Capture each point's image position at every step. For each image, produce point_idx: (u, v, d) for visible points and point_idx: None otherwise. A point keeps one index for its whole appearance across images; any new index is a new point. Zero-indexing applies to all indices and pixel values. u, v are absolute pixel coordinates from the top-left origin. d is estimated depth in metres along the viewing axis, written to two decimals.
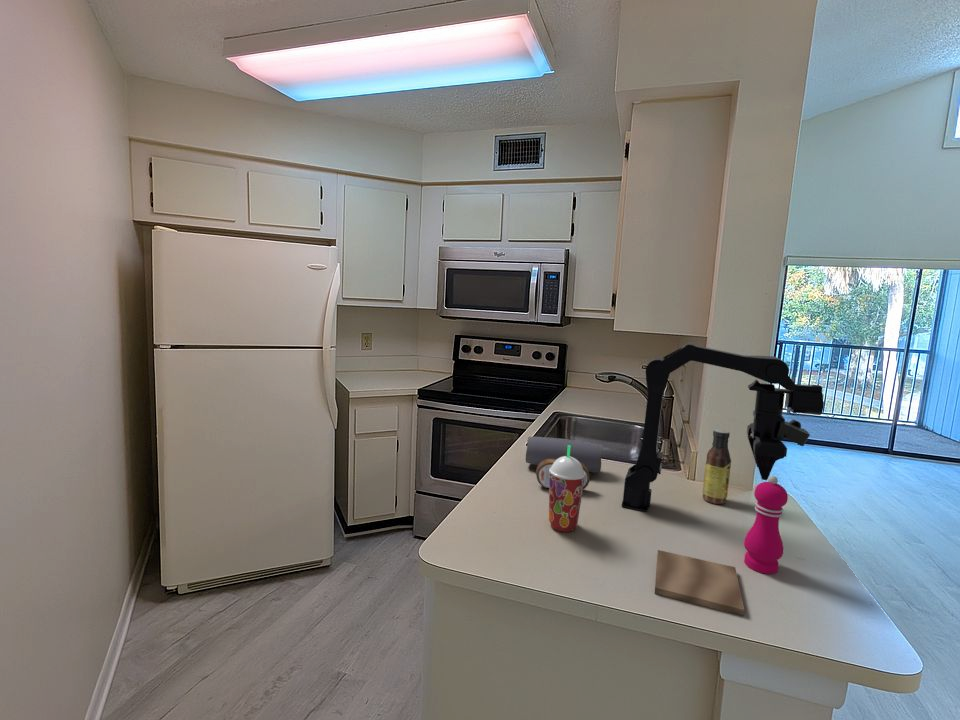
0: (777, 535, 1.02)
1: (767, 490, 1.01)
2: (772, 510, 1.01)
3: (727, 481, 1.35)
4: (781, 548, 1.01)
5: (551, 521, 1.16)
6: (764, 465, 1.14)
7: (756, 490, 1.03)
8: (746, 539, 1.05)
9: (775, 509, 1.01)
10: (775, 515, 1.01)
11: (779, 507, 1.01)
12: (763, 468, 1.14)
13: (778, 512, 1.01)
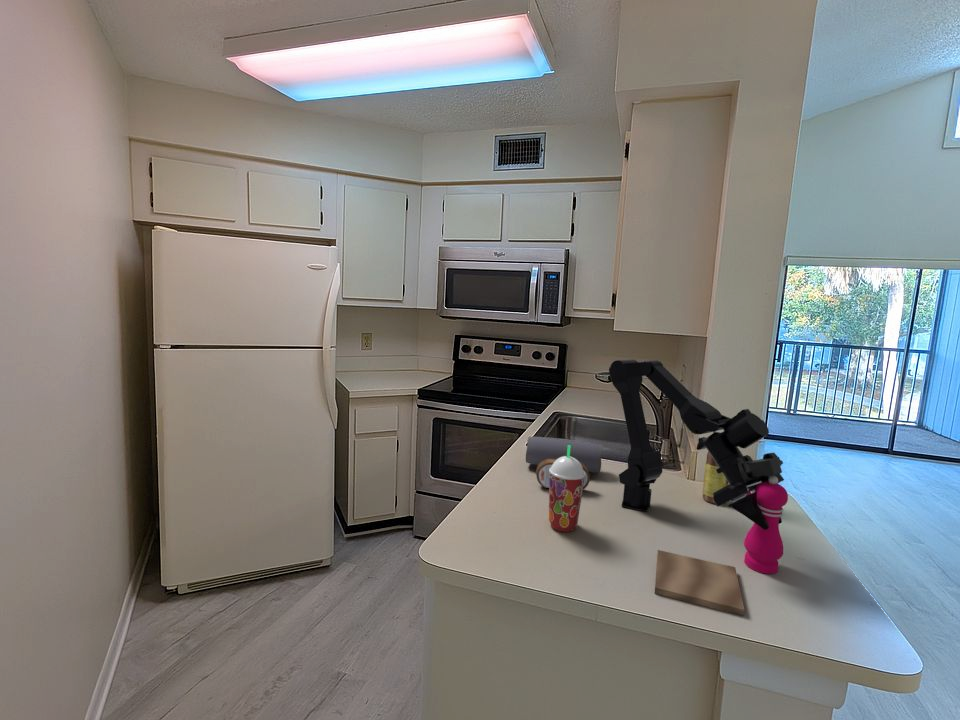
0: (777, 535, 1.02)
1: (767, 489, 1.01)
2: (772, 510, 1.01)
3: (727, 481, 1.35)
4: (781, 548, 1.01)
5: (551, 521, 1.16)
6: (751, 513, 1.02)
7: (756, 490, 1.03)
8: (746, 539, 1.05)
9: (775, 509, 1.01)
10: (775, 515, 1.01)
11: (779, 507, 1.01)
12: (753, 517, 1.02)
13: (778, 512, 1.01)
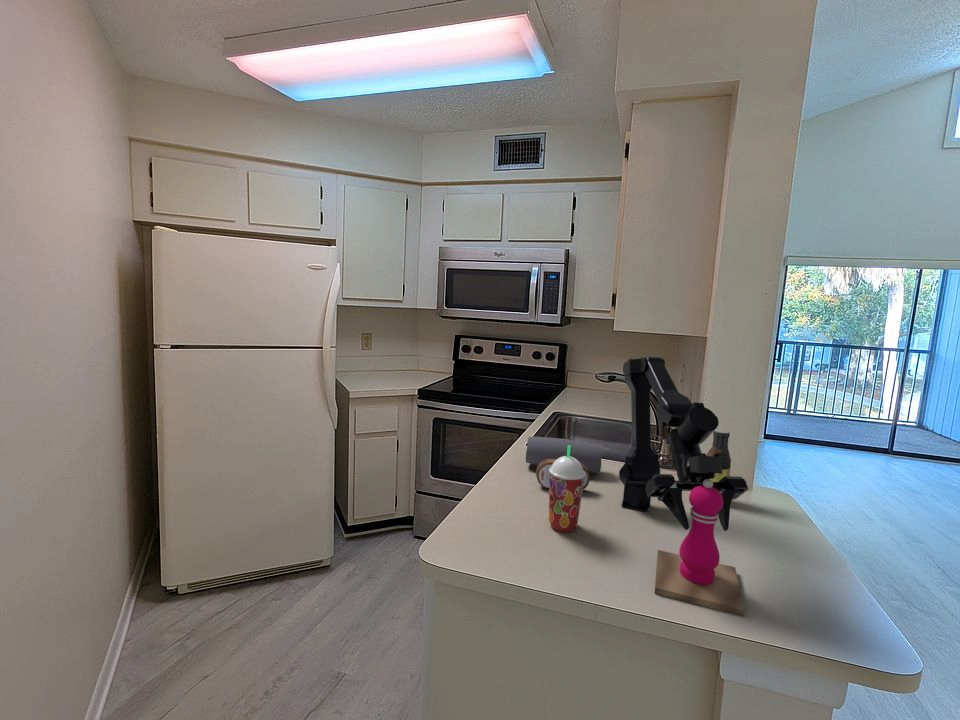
0: (706, 543, 0.94)
1: (695, 491, 0.95)
2: (699, 514, 0.94)
3: None
4: (709, 558, 0.94)
5: (551, 521, 1.16)
6: (675, 510, 0.97)
7: (690, 492, 0.97)
8: None
9: (703, 514, 0.94)
10: (702, 520, 0.94)
11: (707, 513, 0.93)
12: (676, 514, 0.97)
13: (706, 518, 0.94)
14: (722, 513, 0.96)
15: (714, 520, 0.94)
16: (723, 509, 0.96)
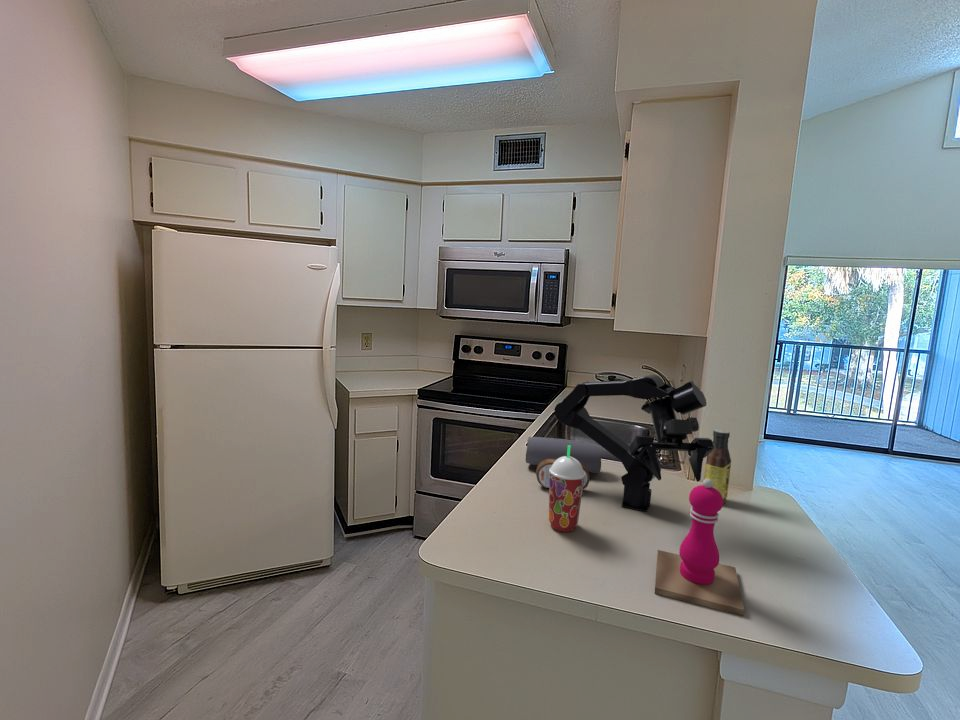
0: (706, 543, 0.94)
1: (695, 491, 0.95)
2: (699, 514, 0.94)
3: (727, 481, 1.35)
4: (709, 558, 0.94)
5: (551, 521, 1.16)
6: (651, 465, 1.17)
7: None
8: None
9: (703, 514, 0.94)
10: (702, 520, 0.94)
11: (707, 512, 0.94)
12: (651, 468, 1.16)
13: (706, 518, 0.94)
14: (696, 467, 1.16)
15: (714, 520, 0.94)
16: (696, 464, 1.16)
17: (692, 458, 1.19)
